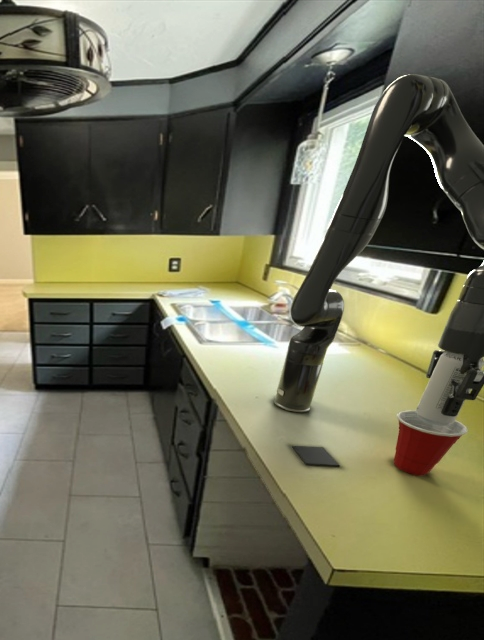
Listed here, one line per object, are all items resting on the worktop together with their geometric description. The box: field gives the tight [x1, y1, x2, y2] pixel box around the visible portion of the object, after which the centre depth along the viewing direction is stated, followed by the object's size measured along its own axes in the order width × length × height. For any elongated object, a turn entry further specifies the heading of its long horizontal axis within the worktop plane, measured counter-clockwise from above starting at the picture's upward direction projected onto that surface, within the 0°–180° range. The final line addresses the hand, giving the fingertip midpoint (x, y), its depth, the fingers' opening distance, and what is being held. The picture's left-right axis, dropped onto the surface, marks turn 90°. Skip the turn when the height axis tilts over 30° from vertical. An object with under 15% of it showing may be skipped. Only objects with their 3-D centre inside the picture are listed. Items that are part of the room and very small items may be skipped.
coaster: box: [292, 445, 340, 467], centre depth 83 cm, size 7×7×1 cm
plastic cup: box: [393, 409, 469, 477], centre depth 77 cm, size 11×11×12 cm
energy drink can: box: [415, 351, 484, 426], centre depth 71 cm, size 6×6×15 cm
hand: (439, 408), depth 73 cm, fingers closed on energy drink can, 6 cm apart
